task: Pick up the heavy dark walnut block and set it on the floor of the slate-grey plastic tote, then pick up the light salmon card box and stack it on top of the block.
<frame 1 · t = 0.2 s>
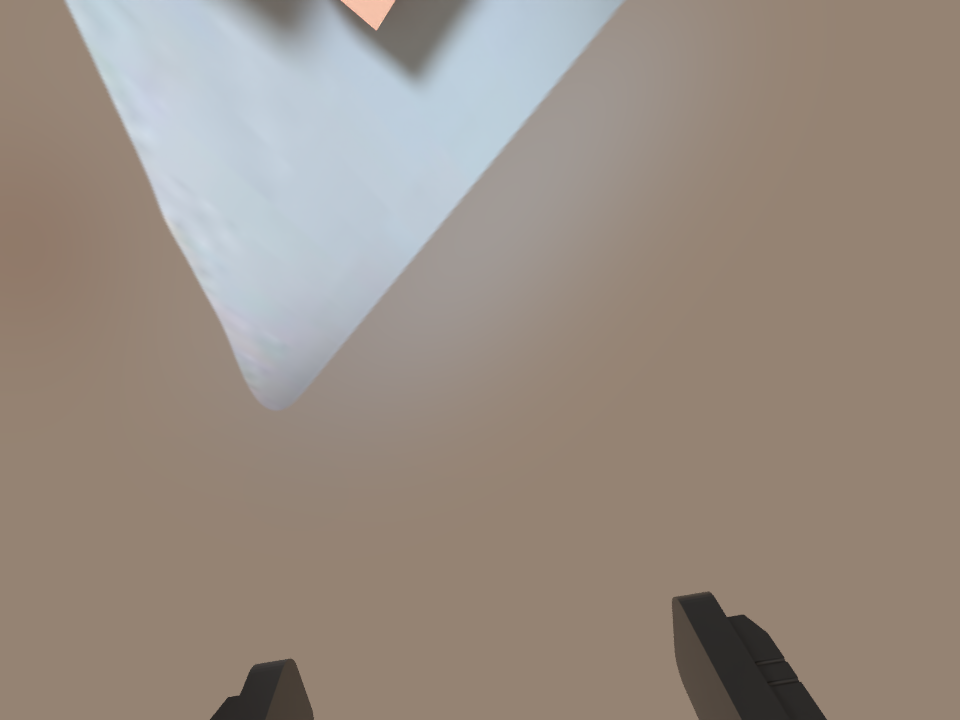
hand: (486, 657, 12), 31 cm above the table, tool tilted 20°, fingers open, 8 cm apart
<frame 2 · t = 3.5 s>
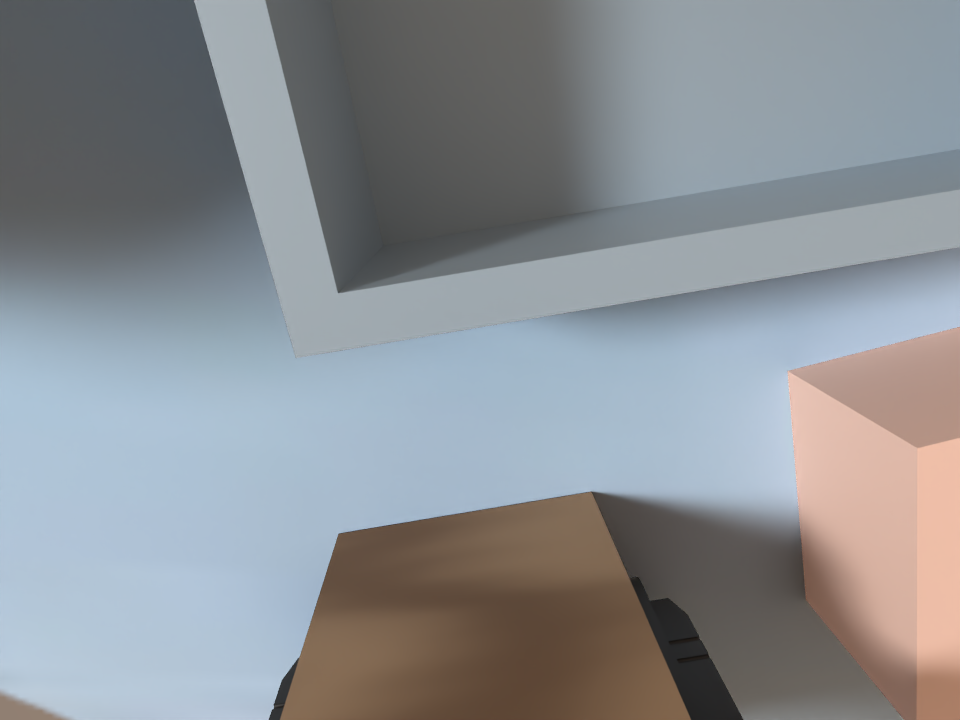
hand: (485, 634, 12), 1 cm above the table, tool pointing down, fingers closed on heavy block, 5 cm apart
light box: (893, 465, 12), on the table
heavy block: (484, 613, 13), on the table, touching gripper
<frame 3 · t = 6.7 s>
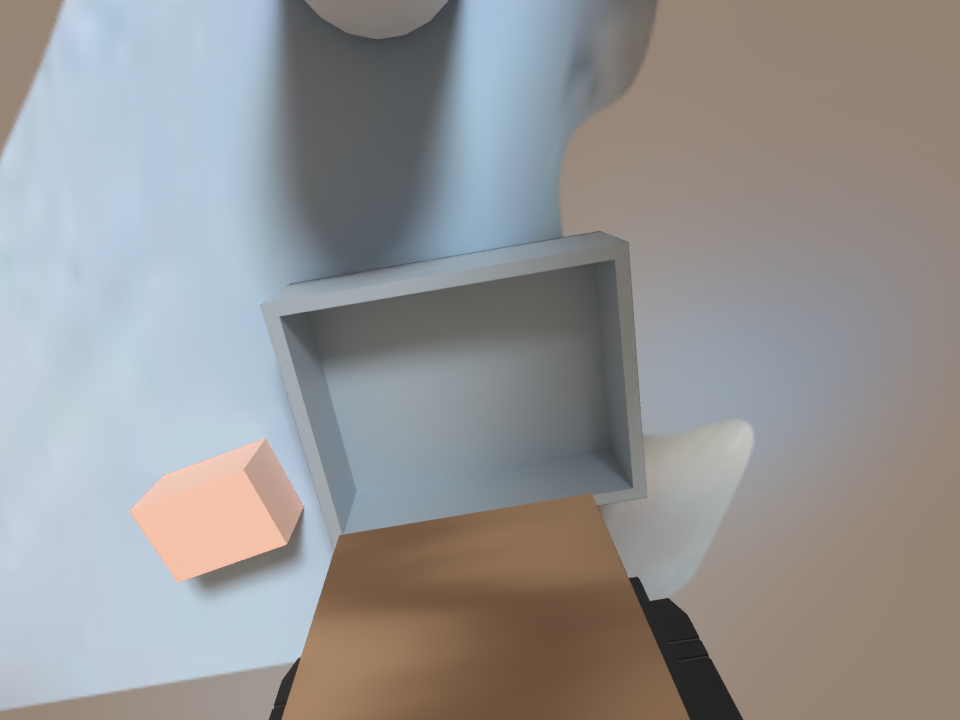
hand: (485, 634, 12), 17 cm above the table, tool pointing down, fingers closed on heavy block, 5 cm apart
tote: (466, 373, 28), on the table
light box: (236, 489, 30), on the table
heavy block: (485, 614, 13), point 16 cm above the table, touching gripper
when the fingers open (3 cm above the table, at t = 9.8 s): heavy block drops 1 cm, resting on tote.
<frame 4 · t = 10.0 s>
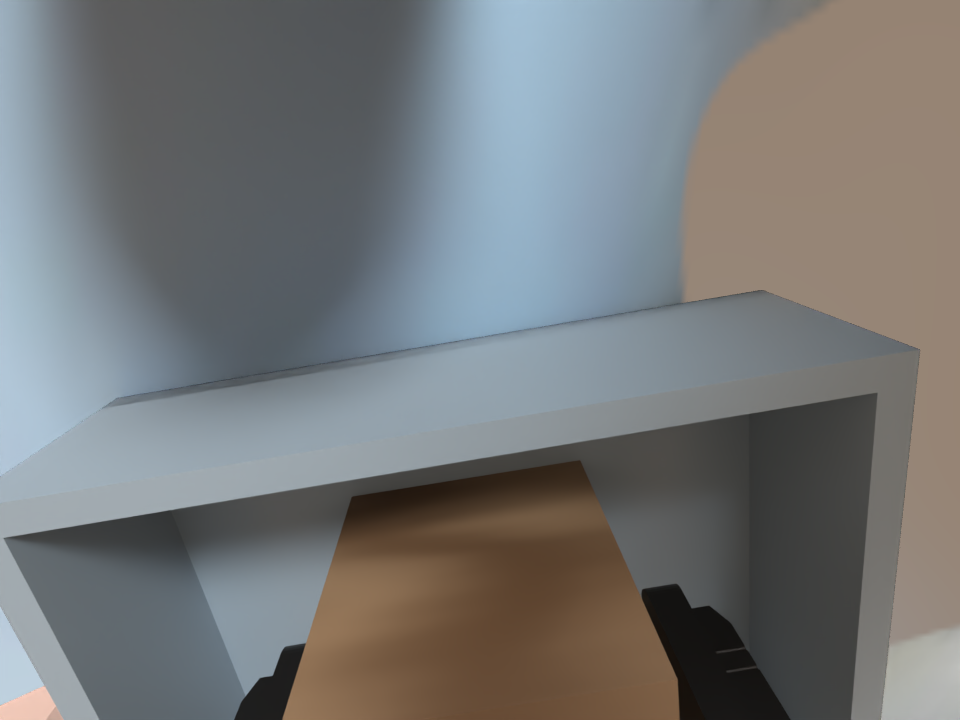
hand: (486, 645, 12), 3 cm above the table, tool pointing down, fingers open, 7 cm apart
tote: (479, 558, 15), on the table
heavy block: (483, 571, 14), point 1 cm above the table, touching tote
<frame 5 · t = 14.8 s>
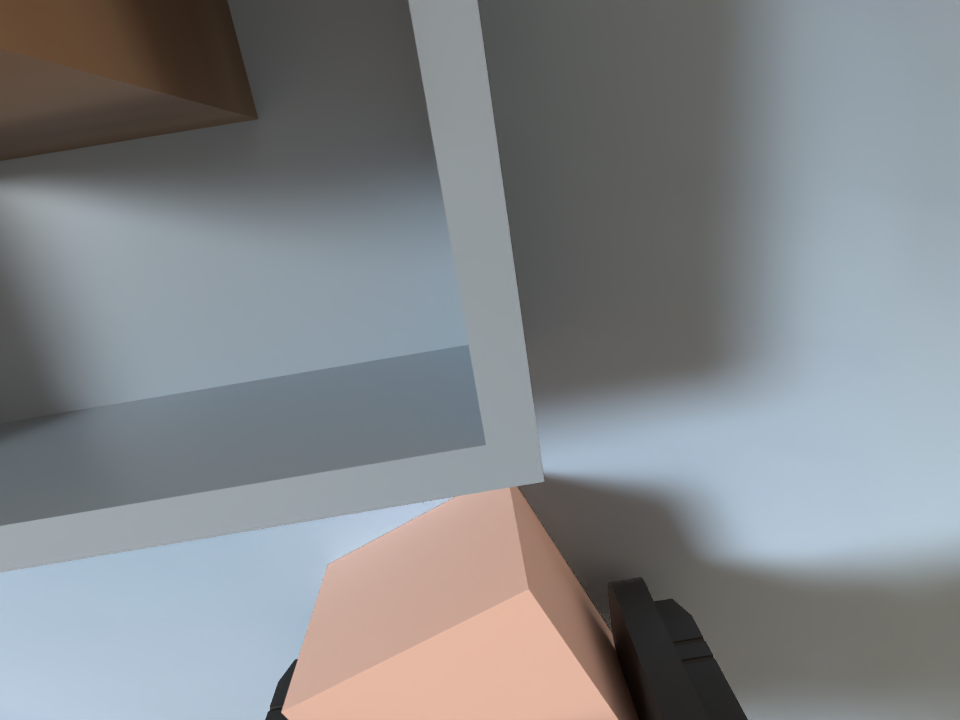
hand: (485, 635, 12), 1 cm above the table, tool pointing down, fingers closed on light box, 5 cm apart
light box: (484, 612, 13), on the table, touching gripper
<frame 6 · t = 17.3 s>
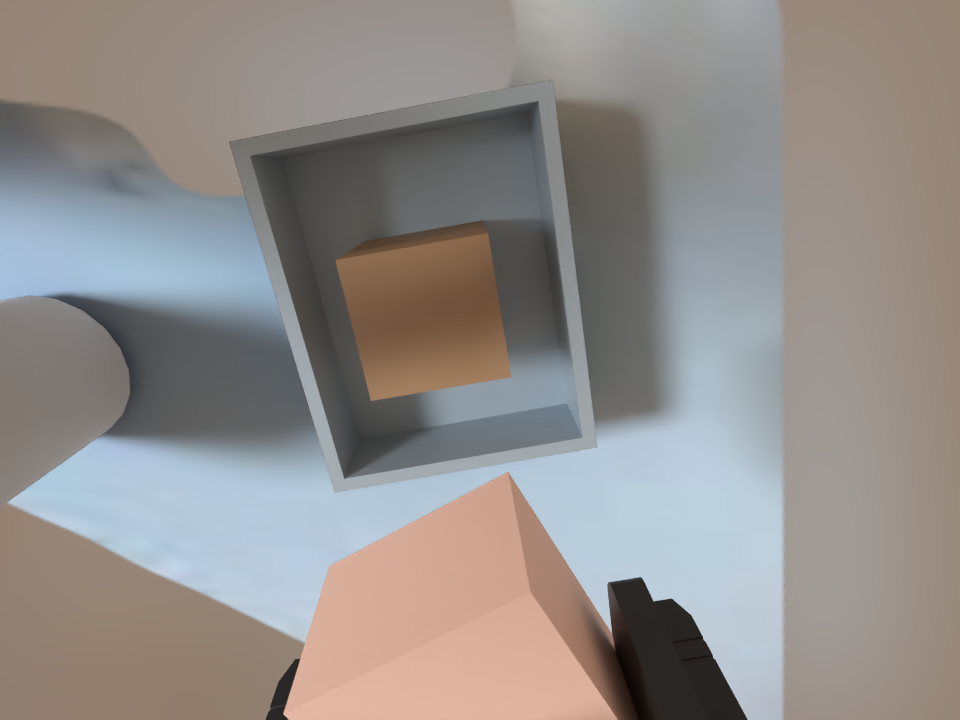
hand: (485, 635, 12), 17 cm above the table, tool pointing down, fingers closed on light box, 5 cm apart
tote: (436, 288, 27), on the table
can: (65, 364, 28), on the table
light box: (485, 614, 13), point 16 cm above the table, touching gripper
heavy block: (434, 289, 26), point 1 cm above the table, touching tote
when the fingers open (8 cm above the table, at t = 20.0 s): light box drops 1 cm, resting on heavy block.
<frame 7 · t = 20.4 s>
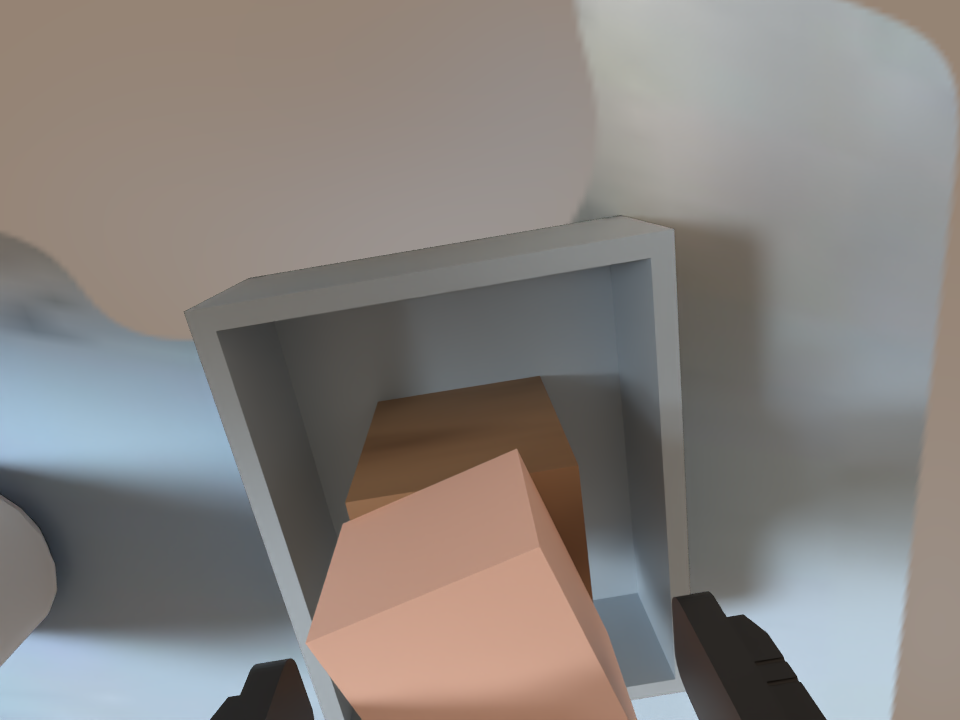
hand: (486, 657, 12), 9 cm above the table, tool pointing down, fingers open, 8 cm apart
tote: (472, 453, 20), on the table
light box: (482, 581, 14), point 7 cm above the table, touching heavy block
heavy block: (471, 460, 19), point 1 cm above the table, touching light box, tote
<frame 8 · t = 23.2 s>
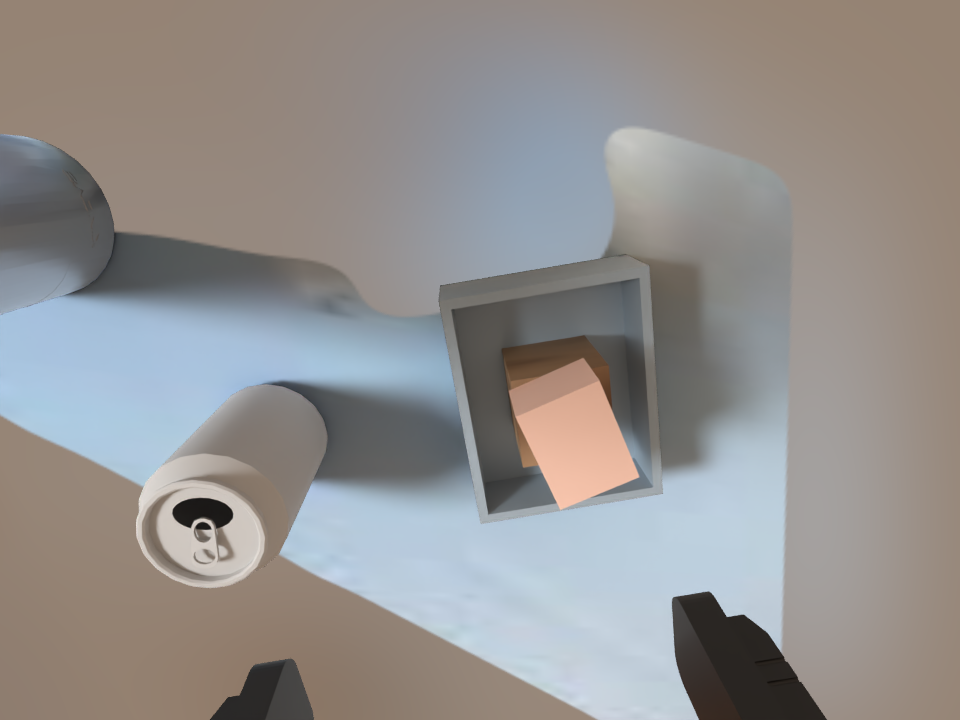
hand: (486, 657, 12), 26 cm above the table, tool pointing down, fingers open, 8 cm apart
tote: (546, 378, 38), on the table
can: (276, 428, 38), on the table
light box: (565, 418, 31), point 7 cm above the table, touching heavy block
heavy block: (547, 380, 37), point 1 cm above the table, touching light box, tote
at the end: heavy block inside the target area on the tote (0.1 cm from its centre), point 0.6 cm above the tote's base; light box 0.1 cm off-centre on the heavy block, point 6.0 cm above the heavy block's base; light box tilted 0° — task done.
